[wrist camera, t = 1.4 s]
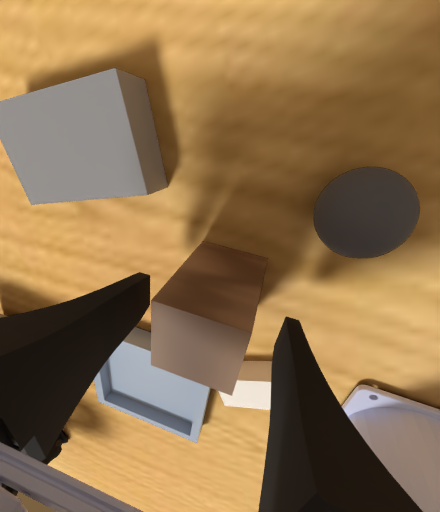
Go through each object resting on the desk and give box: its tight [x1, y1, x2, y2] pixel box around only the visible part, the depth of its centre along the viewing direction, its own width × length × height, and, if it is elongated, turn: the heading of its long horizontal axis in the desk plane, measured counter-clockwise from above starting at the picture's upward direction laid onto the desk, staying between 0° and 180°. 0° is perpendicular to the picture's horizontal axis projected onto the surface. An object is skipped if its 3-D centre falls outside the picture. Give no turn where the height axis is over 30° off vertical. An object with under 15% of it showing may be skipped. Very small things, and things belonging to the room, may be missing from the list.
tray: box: [94, 327, 211, 443], centre depth 21 cm, size 11×11×2 cm
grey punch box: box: [0, 68, 168, 205], centre depth 12 cm, size 8×5×2 cm, turn 97°
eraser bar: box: [219, 361, 272, 410], centre depth 17 cm, size 6×3×2 cm, turn 108°
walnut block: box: [151, 241, 268, 396], centre depth 12 cm, size 4×4×6 cm
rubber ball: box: [314, 167, 420, 258], centre depth 9 cm, size 4×4×4 cm
